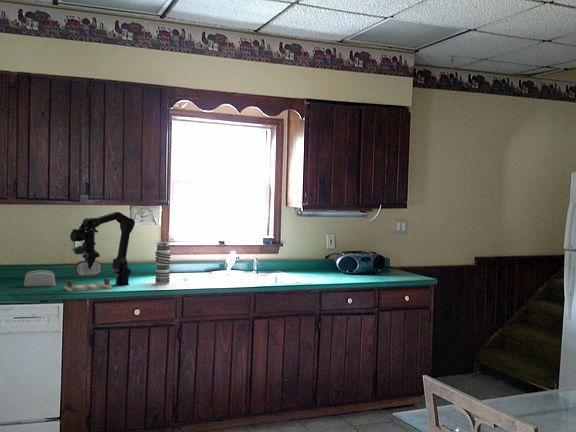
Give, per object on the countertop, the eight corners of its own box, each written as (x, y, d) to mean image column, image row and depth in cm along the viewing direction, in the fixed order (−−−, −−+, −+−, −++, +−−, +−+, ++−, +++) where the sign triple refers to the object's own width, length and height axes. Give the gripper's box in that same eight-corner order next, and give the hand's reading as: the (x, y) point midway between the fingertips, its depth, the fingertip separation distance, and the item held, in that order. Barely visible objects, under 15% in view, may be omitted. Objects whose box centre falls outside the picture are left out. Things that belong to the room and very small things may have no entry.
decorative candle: (153, 282, 380) (154, 241, 379) (168, 282, 384) (169, 241, 383) (155, 284, 372) (156, 243, 371) (171, 284, 375) (172, 243, 374)
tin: (101, 274, 356) (100, 260, 356) (103, 274, 353) (102, 259, 354) (74, 276, 347) (74, 261, 348) (76, 276, 345) (75, 261, 345)
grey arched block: (55, 284, 362) (55, 268, 358) (55, 288, 358) (56, 272, 354) (23, 285, 355) (24, 269, 352) (23, 289, 351) (24, 273, 348)
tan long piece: (106, 286, 362) (107, 276, 362) (112, 288, 354) (112, 279, 354) (64, 288, 348) (64, 279, 348) (68, 291, 341) (68, 281, 340)
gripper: (69, 239, 353) (69, 267, 354) (79, 242, 338) (79, 271, 338) (89, 239, 359) (89, 266, 360) (100, 242, 344) (99, 270, 345)
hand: (88, 268), depth 351 cm, fingers closed on tin, 2 cm apart
